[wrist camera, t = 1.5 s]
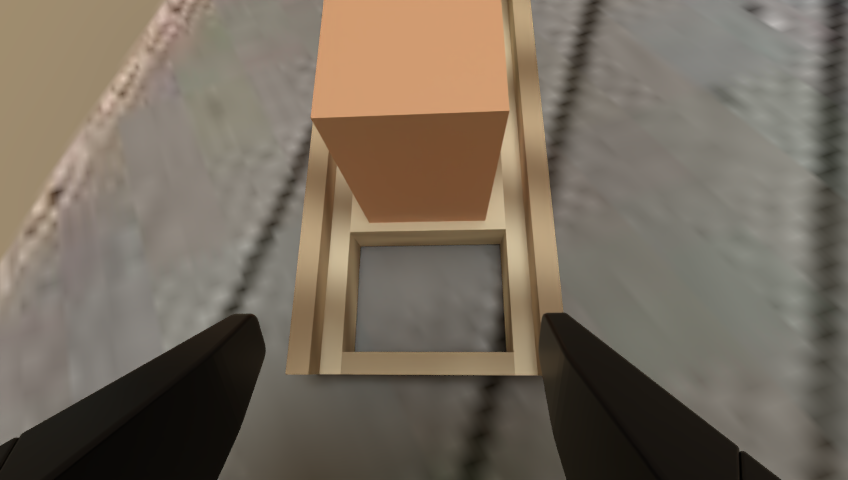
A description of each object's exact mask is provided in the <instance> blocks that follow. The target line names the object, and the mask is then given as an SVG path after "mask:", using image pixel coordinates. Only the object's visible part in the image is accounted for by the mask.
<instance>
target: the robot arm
mask: <svg viewBox="0 0 848 480" xmlns="http://www.w3.org/2000/svg"><path fill="white" fill-rule="evenodd" d="M265 351H266V348H265V343H264V339H263V336H262V332H261V329H260V325H259V322H258V319H257V317H256V316H255V315H253V314H233V315H231V316H229V317H227V318H225V319H223V320H222V321H220V322H218V323H216V324H215V325H213V326H211V327H209V328H208V329H206V330H204V331H202V332H201V333H199V334H197V335H195V336H193V337H192V338H190V339H188V340H186V341H185V342H183V343H181V344H179V345H178V346H176V347H174V348H172V349H171V350H169V351H167V352H165V353H163V354H162V355H160V356H158V357H156V358H155V359H153V360H151V361H149V362H148V363H146V364H144V365H142V366H140V367H139V368H137V369H135V370H133V371H132V372H130V373H128V374H126V375H125V376H123V377H121V378H119V379H118V380H116V381H114V382H112V383H110V384H109V385H107V386H105V387H103V388H102V389H100V390H98V391H96V392H95V393H93V394H91V395H89V396H88V397H86V398H84V399H82V400H80V401H79V402H77V403H75V404H73V405H72V406H70V407H68V408H66V409H65V410H63V411H61V412H59V413H57V414H56V415H54V416H52V417H50V418H49V419H47V420H45V421H43V422H42V423H40V424H38V425H36V426H35V427H33V428H31V429H29V430H27V431H26V432H24V433H22V434H21V435H20V437H19V438H13V439H11V440H10V441H8V442H6V443H4V444H3V445H1V446H0V480H217V479H218V477H219V475H220V473H221V470H222V468H223V466H224V464H225V462H226V459H227V457H228V455H229V453H230V451H231V448H232V446H233V444H234V442H235V440H236V437H237V435H238V433H239V430H240V428H241V425H242V422H243V420H244V417H245V414H246V411H247V408H248V405H249V402H250V399H251V396H252V393H253V390H254V387H255V384H256V381H257V378H258V376H259V373H260V370H261V367H262V364H263V361H264V357H265ZM539 360H540V366H541V371H542V377H543V382H544V388H545V393H546V399H547V404H548V410H549V416H550V421H551V426H552V431H553V435H554V439H555V443H556V446H557V450H558V453H559V456H560V460H561V463H562V466H563V470H564V473H565V476H566V480H781V479H780V478H779V477H777V476H776V475H775V474H773V473H772V472H771V471H769V470H768V469H767V468H765V467H764V466H763V465H762V464H760V463H759V462H758V461H756V460H755V459H754V458H753V457H751V456H750V455H749V454H747V453H746V452H744V451H740V452H739V448H738V446H737V445H736V444H734V443H733V442H732V441H730V440H729V439H728V438H726V437H725V436H724V435H723V434H721V433H720V432H719V431H717V430H716V429H715V428H714V427H712V426H711V425H710V424H708V423H707V422H706V421H705V420H703V419H702V418H701V417H699V416H698V415H697V414H696V413H694V412H693V411H692V410H690V409H689V408H688V407H687V406H685V405H684V404H683V403H681V402H680V401H679V400H677V399H676V398H675V397H674V396H672V395H671V394H670V393H668V392H667V391H666V390H665V389H663V388H662V387H661V386H659V385H658V384H657V383H656V382H654V381H653V380H652V379H650V378H649V377H648V376H647V375H645V374H644V373H643V372H641V371H640V370H639V369H638V368H636V367H635V366H634V365H632V364H631V363H630V362H628V361H627V360H626V359H625V358H623V357H622V356H621V355H619V354H618V353H617V352H616V351H614V350H613V349H612V348H610V347H609V346H608V345H607V344H605V343H604V342H603V341H601V340H600V339H599V338H598V337H596V336H595V335H594V334H592V333H591V332H590V331H589V330H587V329H586V328H585V327H583V326H582V325H581V324H579V323H578V322H577V321H576V320H574V319H573V318H572V317H570V316H569V315H568V314H566V313H563V312H550V313H544V314H543V316H542V320H541V328H540V337H539Z"/></svg>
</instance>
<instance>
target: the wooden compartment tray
mask: <svg viewBox="0 0 848 480" xmlns="http://www.w3.org/2000/svg"><path fill="white" fill-rule="evenodd" d="M501 3H502V16H503V30H504V43H505V56H506V69H507V83H508V96H509V109H510V111H509V116H508V120H507V125H506V129H505V134H504V138H503V143H502V147H501V152H500V156H499V161H498V165H497V170H496V174H495V179H494V183H493V188H492V192H491V197H490V201H489V206H488V210H487V215H486V219H485V221H442V222H391V223H369V221H368V220H367V218H366V216H365V214H364V212H363V211H362V209H361V207H360V205H359V204H358V202H357V200H356V198H355V196H354V195H353V193H352V191H351V189H350V187H349V186H348V184H347V182H346V180H345V179H344V177H343V175H342V173H341V171H340V170H339V168H338V166H337V164H336V162H335V161H334V159H333V157H332V155H331V153H330V152H329V150H328V148H327V146H326V145H325V143H324V141H323V139H322V137H321V136H320V134H319V132H318V130H317V128H316V127H315V125H314V123H313V127H312V136H311V145H310V154H309V163H308V173H307V182H306V191H305V200H304V209H303V218H302V228H301V237H300V246H299V255H298V264H297V273H296V282H295V292H294V301H293V310H292V319H291V328H290V337H289V347H288V356H287V365H286V374H376V375H539V376H542V371H541V366H540V360H539V337H540V328H541V320H542V316H543V314H544V313H550V312H563V305H562V295H561V286H560V276H559V267H558V257H557V248H556V239H555V229H554V220H553V210H552V201H551V191H550V182H549V172H548V163H547V154H546V144H545V135H544V125H543V116H542V106H541V97H540V88H539V78H538V69H537V59H536V50H535V40H534V31H533V22H532V12H531V3H530V0H501ZM477 244H500V251H501V268H502V285H503V302H504V319H505V336H506V352H355V335H356V318H357V301H358V284H359V266H360V249H361V246H414V245H477Z"/></svg>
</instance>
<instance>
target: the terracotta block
mask: <svg viewBox="0 0 848 480" xmlns="http://www.w3.org/2000/svg"><path fill="white" fill-rule="evenodd" d="M509 111H510V109H509V96H508V83H507V69H506V56H505V43H504V30H503V16H502V3H501V0H324V4H323V13H322V22H321V31H320V40H319V49H318V58H317V67H316V76H315V85H314V94H313V103H312V112H311V120H312V121H313V123H314V125H315V127H316V128H317V130H318V132H319V134H320V136H321V137H322V139H323V141H324V143H325V145H326V146H327V148H328V150H329V152H330V153H331V155H332V157H333V159H334V161H335V162H336V164H337V166H338V168H339V170H340V171H341V173H342V175H343V177H344V179H345V180H346V182H347V184H348V186H349V187H350V189H351V191H352V193H353V195H354V196H355V198H356V200H357V202H358V204H359V205H360V207H361V209H362V211H363V212H364V214H365V216H366V218H367V220H368V221H369V223H391V222H442V221H485V219H486V215H487V210H488V206H489V201H490V197H491V192H492V188H493V183H494V179H495V174H496V170H497V165H498V161H499V156H500V152H501V147H502V143H503V138H504V134H505V129H506V125H507V120H508V116H509Z"/></svg>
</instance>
